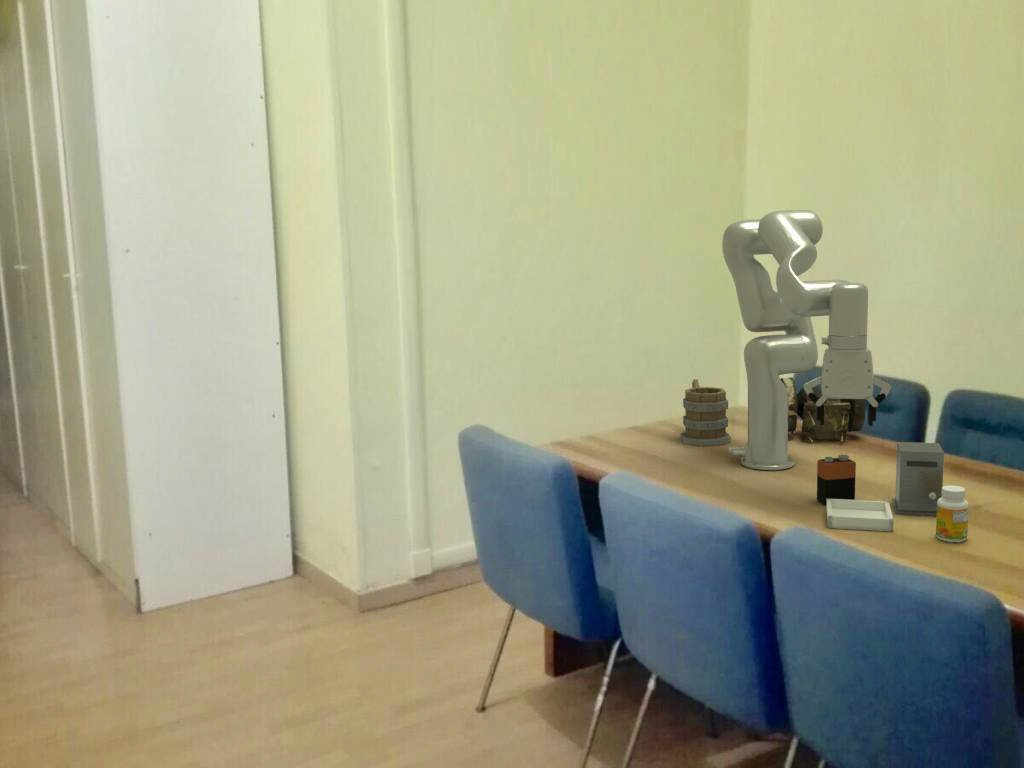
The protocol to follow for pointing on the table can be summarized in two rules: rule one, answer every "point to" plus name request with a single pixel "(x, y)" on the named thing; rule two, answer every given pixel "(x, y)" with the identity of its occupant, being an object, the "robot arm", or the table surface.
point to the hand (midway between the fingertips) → (845, 424)
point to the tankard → (705, 416)
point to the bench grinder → (836, 414)
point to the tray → (859, 515)
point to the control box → (918, 478)
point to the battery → (836, 478)
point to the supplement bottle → (952, 515)
